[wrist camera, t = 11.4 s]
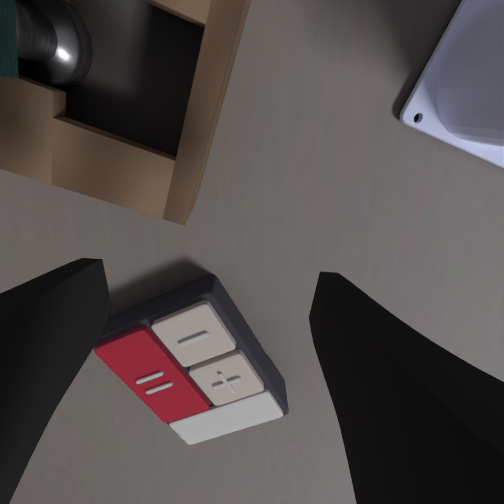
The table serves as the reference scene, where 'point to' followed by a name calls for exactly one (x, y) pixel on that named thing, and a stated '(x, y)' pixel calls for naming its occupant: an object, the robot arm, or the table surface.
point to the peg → (43, 41)
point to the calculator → (194, 362)
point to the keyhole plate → (118, 148)
